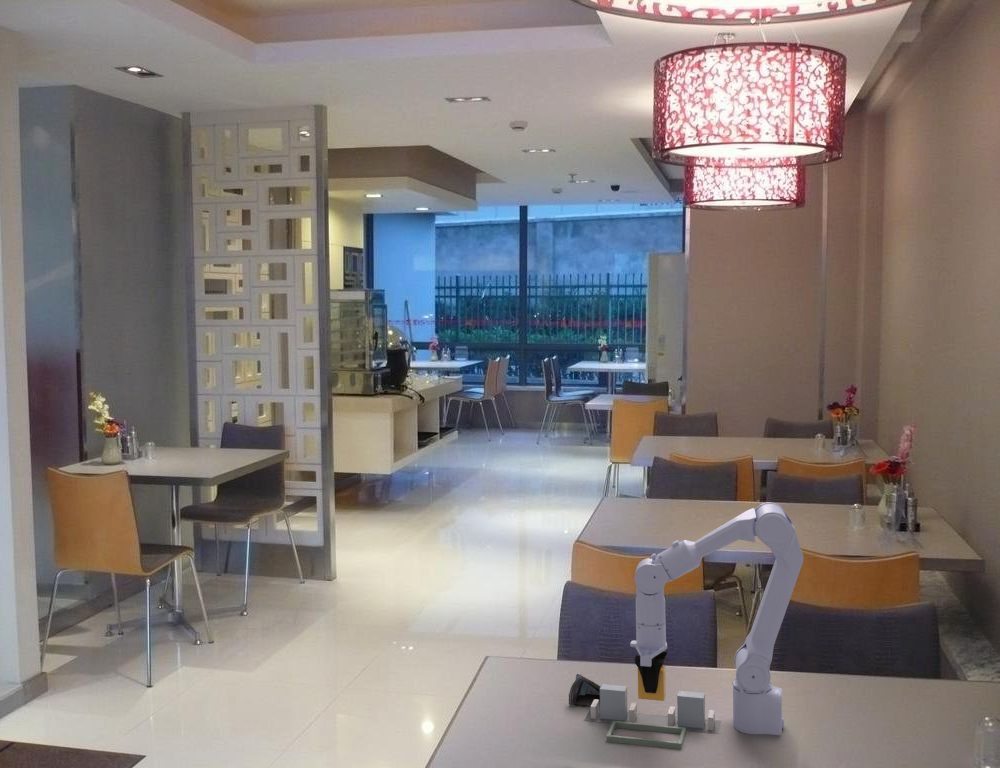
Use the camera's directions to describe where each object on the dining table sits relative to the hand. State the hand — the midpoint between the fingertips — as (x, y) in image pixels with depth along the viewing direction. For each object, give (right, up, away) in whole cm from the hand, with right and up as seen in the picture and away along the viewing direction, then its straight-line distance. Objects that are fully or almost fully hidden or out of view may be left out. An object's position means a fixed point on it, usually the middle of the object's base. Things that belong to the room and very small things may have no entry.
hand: (651, 689), depth 199 cm
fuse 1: (-7, -6, +3) cm, 10 cm away
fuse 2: (+7, -6, -2) cm, 10 cm away
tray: (-2, -8, -6) cm, 11 cm away
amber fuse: (0, -2, 0) cm, 2 cm away
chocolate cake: (-9, -7, +11) cm, 16 cm away
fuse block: (0, -7, +1) cm, 7 cm away
